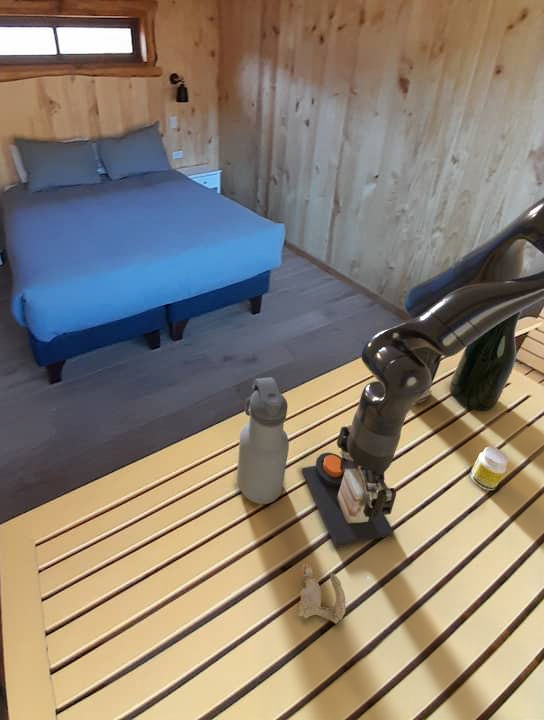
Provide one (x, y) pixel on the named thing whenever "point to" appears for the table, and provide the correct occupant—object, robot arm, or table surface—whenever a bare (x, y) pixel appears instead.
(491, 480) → the supplement bottle
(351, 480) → the white medicine box
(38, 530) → the table surface
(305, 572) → the beige figurine
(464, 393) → the dark green wine bottle
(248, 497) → the water bottle
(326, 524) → the black button panel
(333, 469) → the button
